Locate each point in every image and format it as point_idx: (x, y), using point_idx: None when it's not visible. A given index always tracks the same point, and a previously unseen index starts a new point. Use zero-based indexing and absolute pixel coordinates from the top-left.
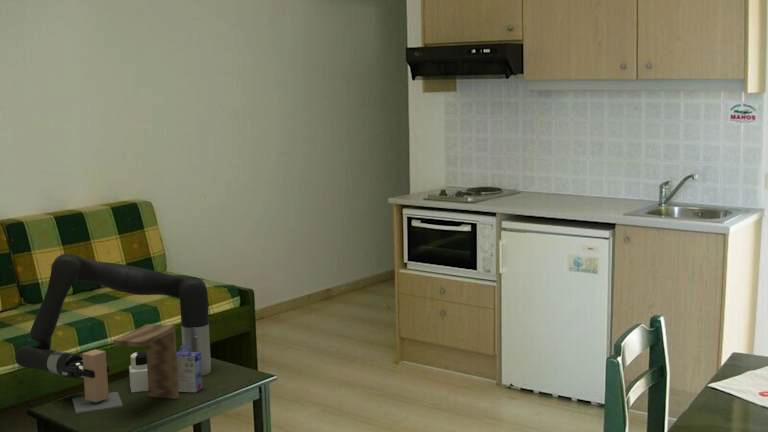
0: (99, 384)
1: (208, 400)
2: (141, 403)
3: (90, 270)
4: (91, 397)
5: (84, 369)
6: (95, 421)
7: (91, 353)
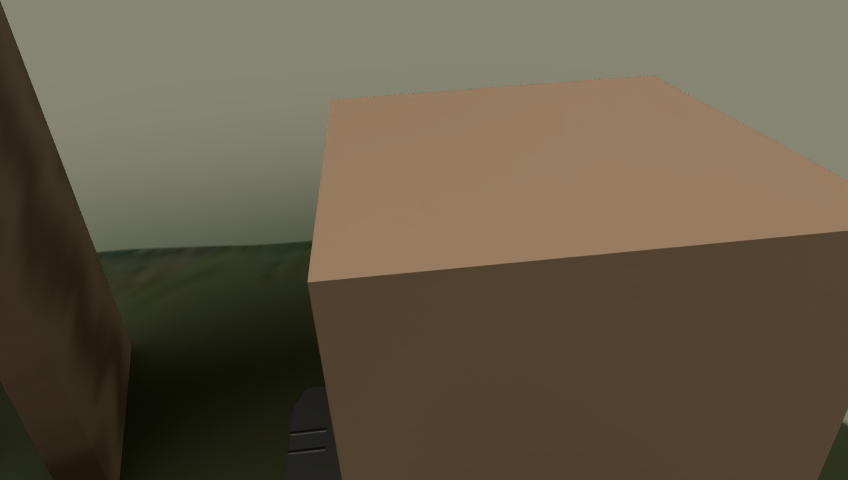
0: None
1: (121, 254)
2: (283, 426)
3: None
4: None
5: None
6: None
7: (626, 134)
